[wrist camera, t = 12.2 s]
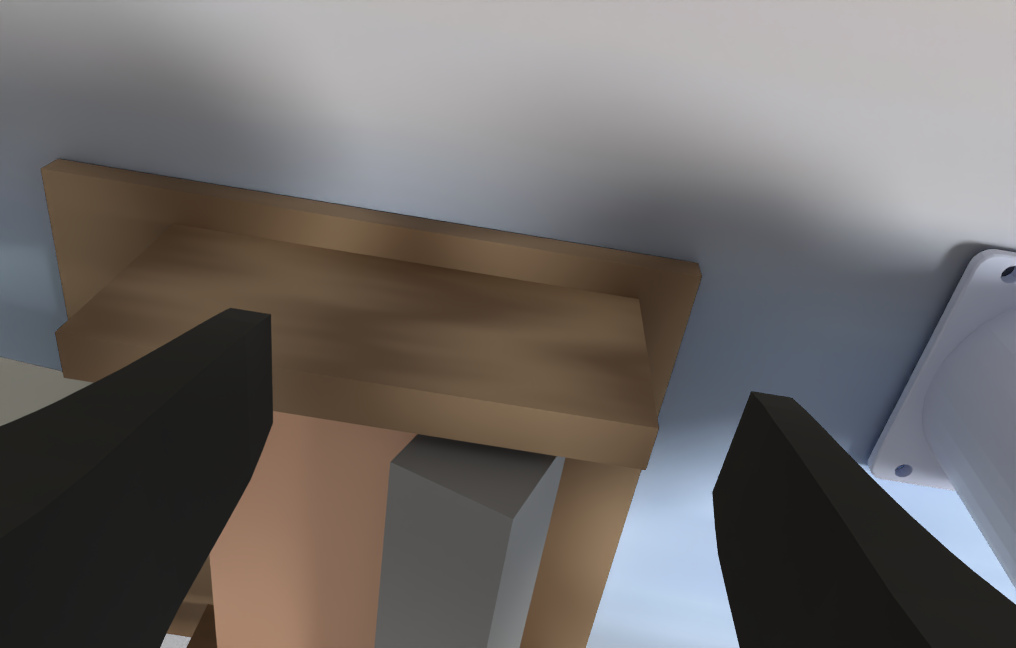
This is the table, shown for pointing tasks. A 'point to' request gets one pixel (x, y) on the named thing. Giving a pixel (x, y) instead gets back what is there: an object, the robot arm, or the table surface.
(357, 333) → the frame
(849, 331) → the table surface
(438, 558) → the trapdoor
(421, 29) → the table surface
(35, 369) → the pale sage cube
